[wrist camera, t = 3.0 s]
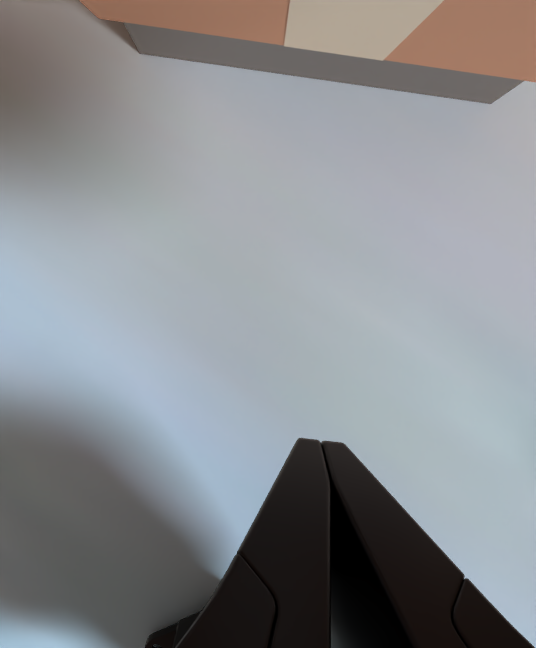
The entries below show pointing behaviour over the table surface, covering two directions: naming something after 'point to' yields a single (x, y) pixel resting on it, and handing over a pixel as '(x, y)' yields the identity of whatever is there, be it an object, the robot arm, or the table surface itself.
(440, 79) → the storage box
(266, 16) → the lid
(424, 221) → the table surface
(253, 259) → the table surface
